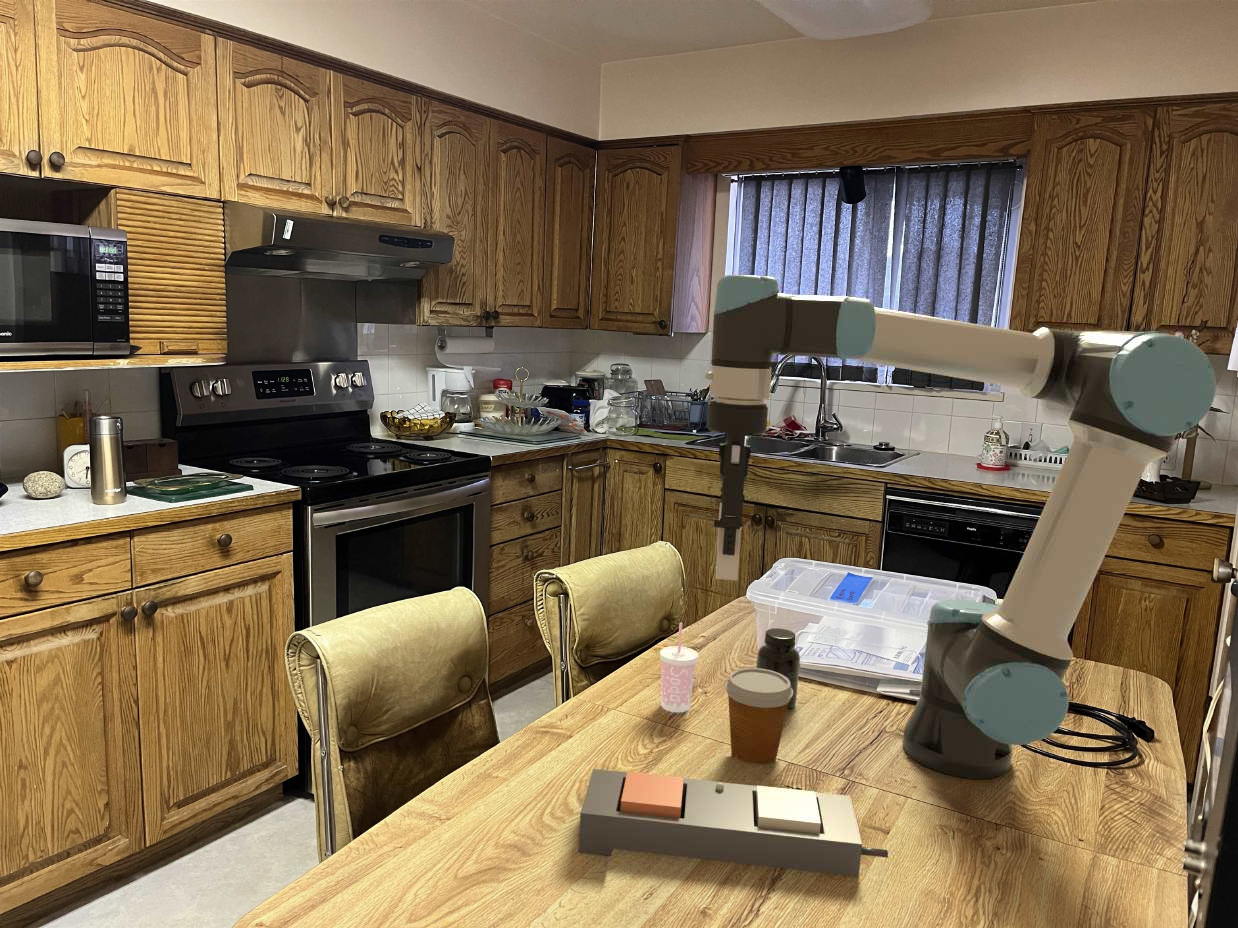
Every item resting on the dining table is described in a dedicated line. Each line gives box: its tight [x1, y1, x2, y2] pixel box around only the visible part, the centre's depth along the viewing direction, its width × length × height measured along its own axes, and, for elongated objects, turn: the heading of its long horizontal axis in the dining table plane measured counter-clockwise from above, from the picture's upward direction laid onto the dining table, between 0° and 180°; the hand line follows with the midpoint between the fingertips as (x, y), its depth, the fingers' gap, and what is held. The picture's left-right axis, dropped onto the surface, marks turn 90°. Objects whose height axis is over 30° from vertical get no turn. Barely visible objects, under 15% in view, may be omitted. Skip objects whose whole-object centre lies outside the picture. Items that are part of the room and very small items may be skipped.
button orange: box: [620, 771, 685, 818], centre depth 111 cm, size 7×7×5 cm
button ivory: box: [754, 785, 821, 834], centre depth 109 cm, size 7×7×5 cm
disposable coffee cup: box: [725, 667, 793, 765], centre depth 131 cm, size 10×10×12 cm
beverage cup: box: [659, 622, 699, 713], centre depth 146 cm, size 6×6×14 cm
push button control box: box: [578, 768, 889, 878], centre depth 110 cm, size 36×10×6 cm, turn 83°
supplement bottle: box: [755, 627, 801, 711], centre depth 150 cm, size 7×7×12 cm
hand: (726, 563), depth 119 cm, fingers open, 13 cm apart
